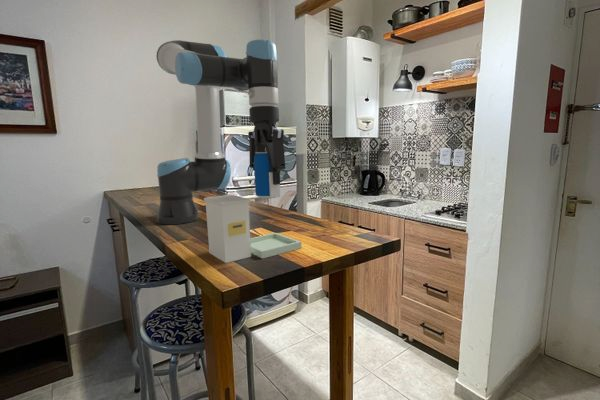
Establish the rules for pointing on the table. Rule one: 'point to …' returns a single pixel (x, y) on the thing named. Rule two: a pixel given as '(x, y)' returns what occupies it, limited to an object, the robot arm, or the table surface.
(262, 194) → the beverage can
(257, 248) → the tray
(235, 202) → the block
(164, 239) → the table surface
